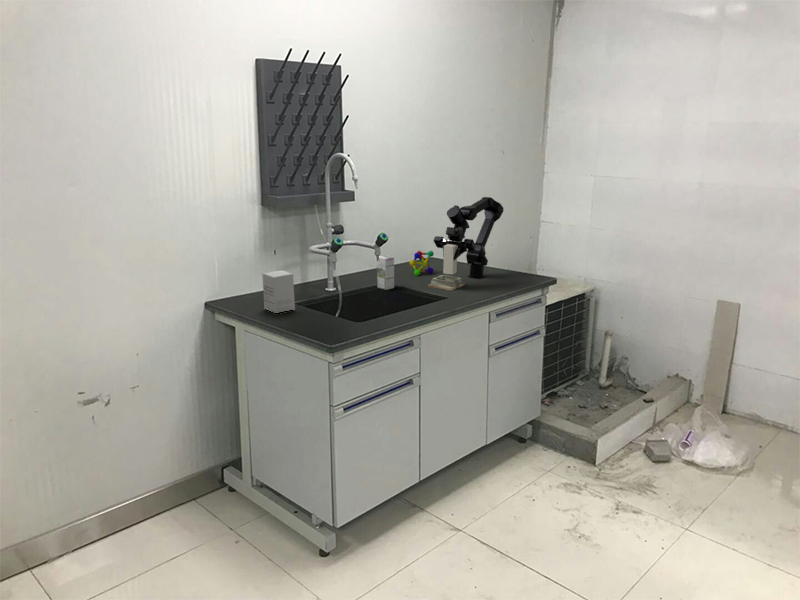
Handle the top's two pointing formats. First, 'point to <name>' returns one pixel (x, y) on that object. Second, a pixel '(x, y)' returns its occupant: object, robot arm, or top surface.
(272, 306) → the supplement box
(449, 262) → the fuselage block
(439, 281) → the jig
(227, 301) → the top surface
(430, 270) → the molecular model
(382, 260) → the syrup box
